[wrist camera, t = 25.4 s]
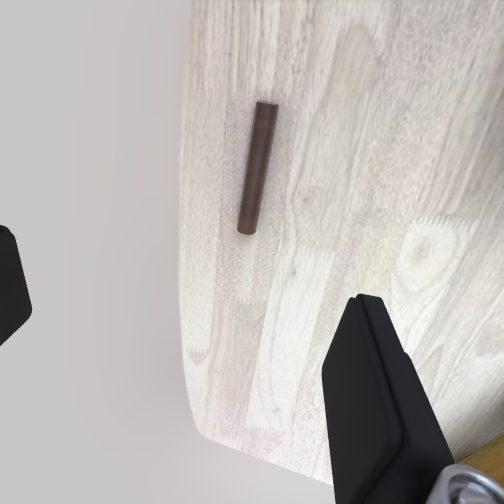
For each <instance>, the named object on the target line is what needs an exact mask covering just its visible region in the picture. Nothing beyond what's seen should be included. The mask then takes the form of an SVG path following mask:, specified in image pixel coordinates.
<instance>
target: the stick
mask: <svg viewBox="0 0 504 504" xmlns="http://www.w3.org/2000/svg"><path fill="white" fill-rule="evenodd" d="M278 108H279V105H278V104H275V103H270V102H265V101H257V102H256V108H255V114H254V121H253V127H252V134H251V140H250V147H249V153H248V160H247V166H246V173H245V179H244V186H243V192H242V199H241V205H240V212H239V218H238V225H237V230H238V232H240V233H242V234H246V235H251V234H254V233H255V232H256V226H257V221H258V216H259V210H260V205H261V200H262V194H263V189H264V183H265V178H266V173H267V167H268V162H269V157H270V151H271V146H272V140H273V135H274V130H275V124H276V119H277V113H278Z"/></svg>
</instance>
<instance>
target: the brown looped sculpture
mask: <svg viewBox="0 0 504 504" xmlns="http://www.w3.org/2000/svg"><path fill="white" fill-rule="evenodd" d="M458 464H461V465H467V466H470V467H472V468H475V469H477V470H480V471H481V472H483V473H484V474H486V475H487V476H489V477H491V478H492V479H494V480H495V481H496V482H497V483H498V484H499V485H500V486H501V487H502V488H504V432H503V433H502V434H500V435H499V436H497V437H496V438H495V439H494V440H492V441H491V442H490V443H488V444H487V445H485V446H483V447H482V448H480V449H479V450H477V451H475V452H474V453H473V454H471V455H470V456H468V457H466V458H465V459H464V460H462V461H461V462H459V463H458Z"/></svg>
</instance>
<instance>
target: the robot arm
mask: <svg viewBox="0 0 504 504" xmlns="http://www.w3.org/2000/svg"><path fill="white" fill-rule="evenodd" d="M31 313H32V305H31V301H30V297H29V293H28V289H27V285H26V280H25V276H24V272H23V268H22V264H21V260H20V257H19V252H18V248H17V243H16V240H15V237H14V235H13V234H12V233H11V232H10V230H9V229H8V228H7V227H5V226H2V225H0V346H1V345H2V344H3V343H4V342H5V341H6V340H7V339H8V338H9V337H10V336H11V335H12V334H13V333H14V332H16V330H18V329H19V328H20V327H21V326H22V325H23V324H24V323H25V322H26V321H27V320H28V319H29V317H30V315H31ZM322 385H323V394H324V403H325V412H326V421H327V430H328V439H329V448H330V457H331V466H332V475H333V484H334V493H335V502H336V504H504V488H502V487H501V486H500V485H499V484H498V483H497V482H496V481H495V480H494V479H492V478H491V477H489V476H487V475H486V474H484V473H483V472H481V471H480V470H477V469H475V468H472V467H470V466H467V465H461V464H456V463H455V461H454V459H453V456H452V454H451V452H450V449H449V447H448V445H447V442H446V440H445V438H444V435H443V433H442V431H441V428H440V426H439V424H438V421H437V419H436V417H435V414H434V412H433V410H432V407H431V405H430V403H429V400H428V398H427V396H426V393H425V391H424V389H423V386H422V384H421V382H420V379H419V377H418V375H417V372H416V370H415V368H414V365H413V363H412V361H411V359H410V357H409V355H408V354H407V353H405V352H404V350H403V348H402V345H401V343H400V341H399V338H398V336H397V333H396V331H395V329H394V326H393V324H392V321H391V319H390V317H389V314H388V312H387V309H386V307H385V305H384V302H383V300H382V298H380V297H376V296H371V295H365V294H358V295H357V296H356V298H353V297H351V298H350V299H349V300H348V302H347V305H346V307H345V310H344V312H343V315H342V317H341V320H340V322H339V325H338V327H337V330H336V332H335V335H334V338H333V340H332V343H331V345H330V348H329V350H328V353H327V355H326V358H325V360H324V363H323V366H322Z"/></svg>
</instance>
